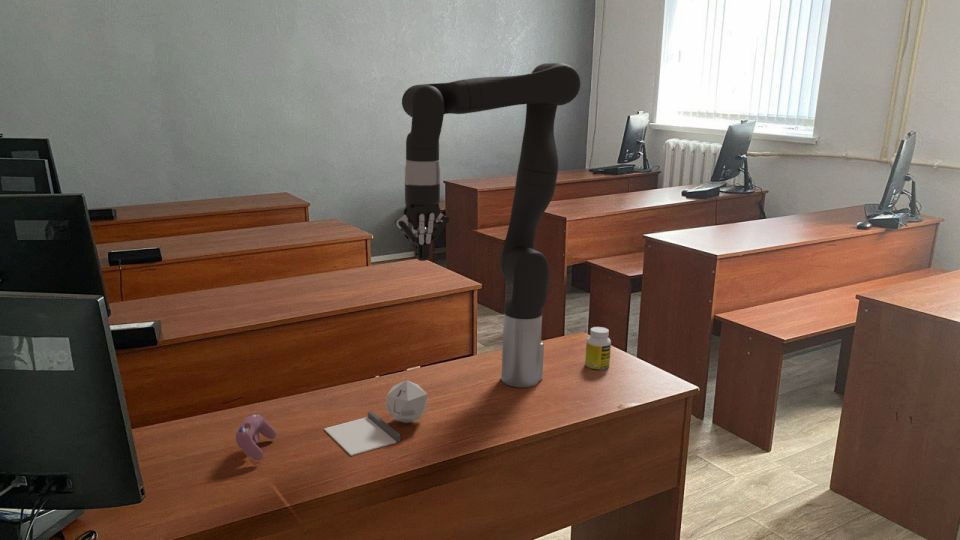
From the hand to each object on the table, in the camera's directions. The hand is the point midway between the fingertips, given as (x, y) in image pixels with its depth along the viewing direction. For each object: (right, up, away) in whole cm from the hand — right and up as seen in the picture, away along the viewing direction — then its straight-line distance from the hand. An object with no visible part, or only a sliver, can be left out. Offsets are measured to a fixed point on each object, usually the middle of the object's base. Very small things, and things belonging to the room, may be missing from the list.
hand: (422, 259), depth 158 cm
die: (-3, -35, -4) cm, 36 cm away
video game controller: (-30, -38, -17) cm, 51 cm away
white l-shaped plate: (-12, -36, -10) cm, 40 cm away
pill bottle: (+43, -28, +28) cm, 58 cm away
